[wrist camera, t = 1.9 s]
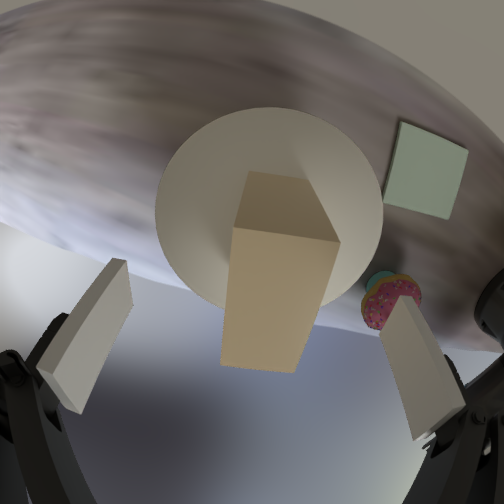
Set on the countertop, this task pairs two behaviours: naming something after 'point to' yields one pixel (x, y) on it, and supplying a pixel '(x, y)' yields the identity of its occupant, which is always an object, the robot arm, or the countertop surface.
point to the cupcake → (386, 296)
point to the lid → (268, 226)
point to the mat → (424, 172)
